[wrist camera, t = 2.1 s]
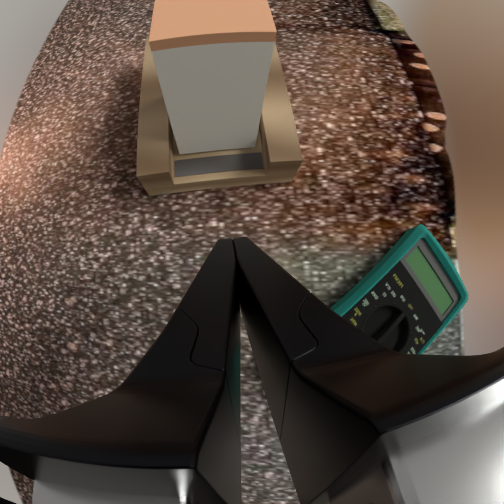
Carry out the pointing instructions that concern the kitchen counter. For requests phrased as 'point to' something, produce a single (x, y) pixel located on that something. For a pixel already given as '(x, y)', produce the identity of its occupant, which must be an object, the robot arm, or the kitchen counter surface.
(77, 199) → the kitchen counter surface
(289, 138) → the open taupe tray
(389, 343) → the digital multimeter
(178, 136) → the switch tab
